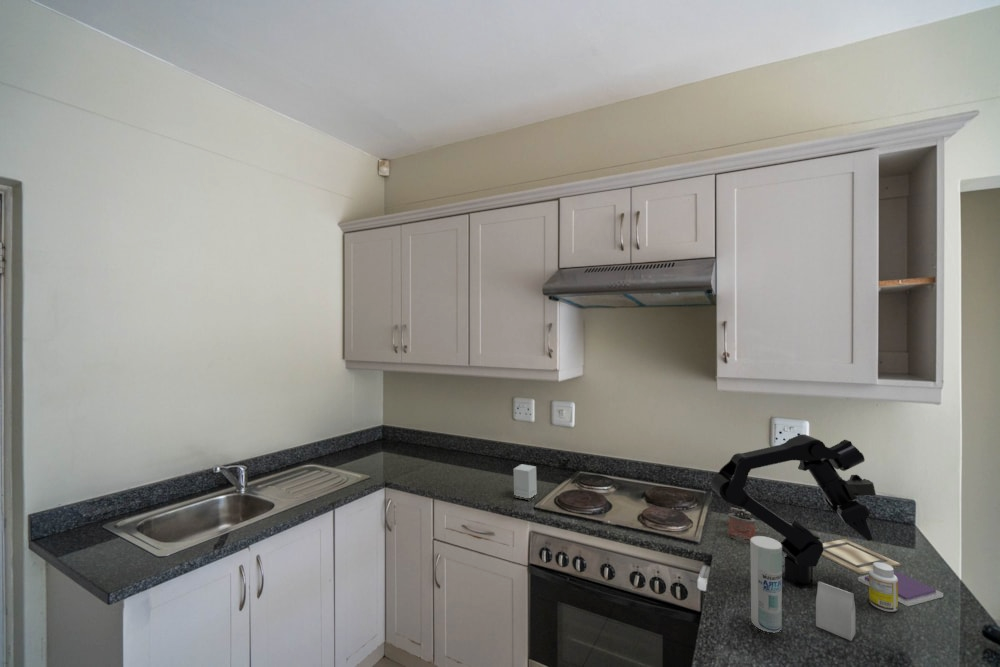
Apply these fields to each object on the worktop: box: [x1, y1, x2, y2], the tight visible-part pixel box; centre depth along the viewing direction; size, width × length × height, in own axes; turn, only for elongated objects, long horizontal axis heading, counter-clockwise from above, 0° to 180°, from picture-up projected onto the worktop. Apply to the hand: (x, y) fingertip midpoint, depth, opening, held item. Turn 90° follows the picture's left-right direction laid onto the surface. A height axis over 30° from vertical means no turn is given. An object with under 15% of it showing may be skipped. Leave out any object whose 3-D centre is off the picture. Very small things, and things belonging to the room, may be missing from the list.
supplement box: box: [512, 463, 538, 498], centre depth 189 cm, size 7×7×13 cm
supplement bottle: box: [868, 562, 899, 613], centre depth 114 cm, size 6×6×10 cm
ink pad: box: [857, 570, 944, 607], centre depth 121 cm, size 13×12×2 cm
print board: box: [821, 538, 901, 576], centre depth 138 cm, size 16×16×1 cm
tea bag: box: [815, 581, 856, 642], centre depth 106 cm, size 4×7×10 cm, turn 40°
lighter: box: [728, 507, 756, 544], centre depth 150 cm, size 8×3×10 cm, turn 47°
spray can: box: [749, 535, 783, 633], centre depth 107 cm, size 6×6×20 cm
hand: (864, 533), depth 120 cm, fingers open, 9 cm apart
